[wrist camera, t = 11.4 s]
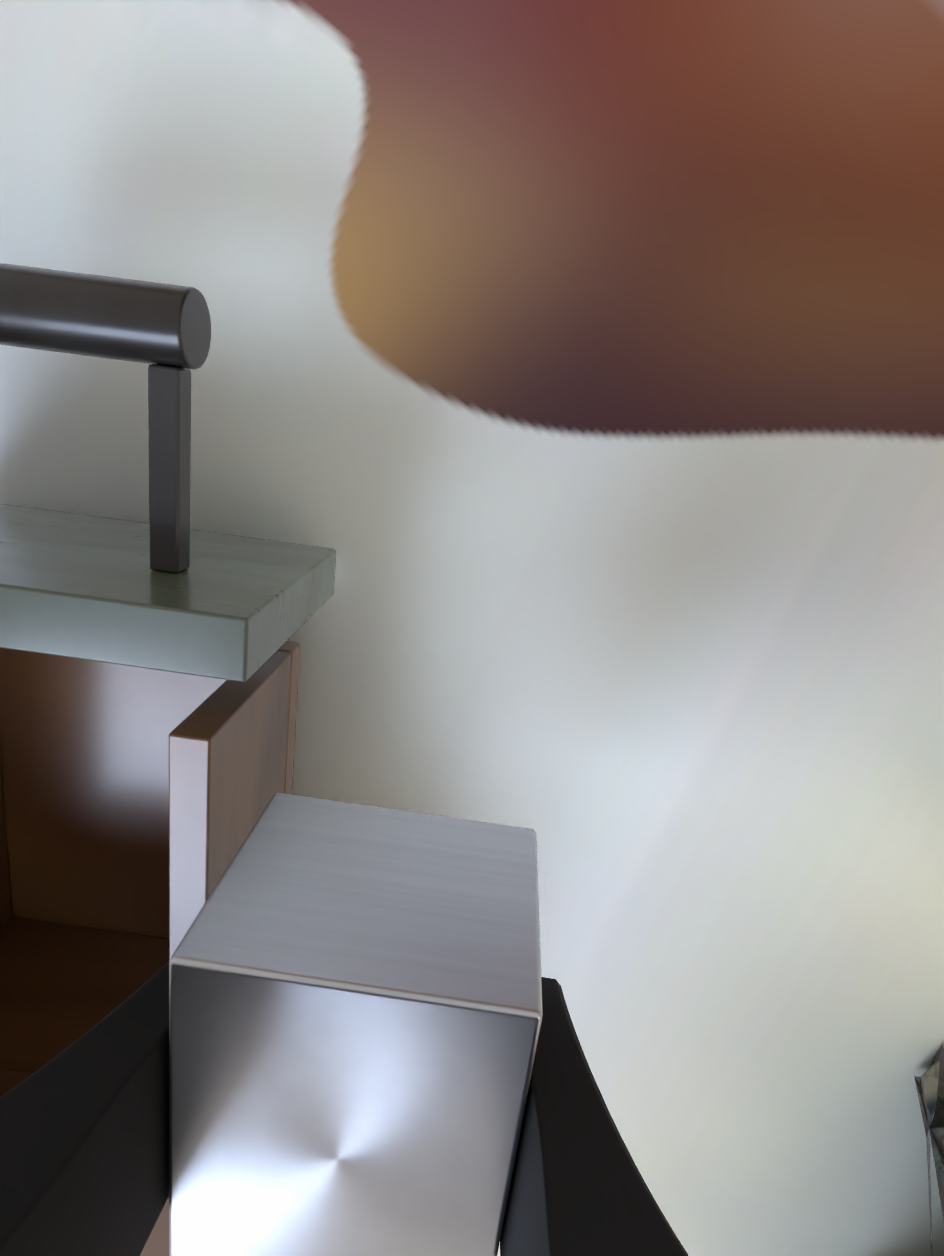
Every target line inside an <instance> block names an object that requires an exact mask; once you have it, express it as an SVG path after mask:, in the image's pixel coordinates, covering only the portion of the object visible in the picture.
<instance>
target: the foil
mask: <svg viewBox="0 0 944 1256" xmlns="http://www.w3.org/2000/svg"><path fill="white" fill-rule="evenodd" d="M914 1077H915V1082H916V1087H917V1092H918V1097H919V1102H920V1107H921V1112H922V1117H923V1122H924V1127H925V1132H926V1138H927V1160H928V1182H929V1203H930V1225H931V1182H930V1138H929V1129H930V1136H931V1142H932V1148H933V1155H934V1161H935V1167H936V1174H937V1180H938V1186H939V1193H940V1199H941V1205H942V1212H943V1218H944V1048H943V1044H942V1046H941V1048H940V1050H939V1052H938V1054H937V1056H936V1058H935V1060H934V1062H933V1064H932V1066H931V1067H930V1068H929V1069H928V1070H927V1071H926V1072H925V1073H924V1074H923V1075H922V1076H921V1077H916V1076H914ZM934 1112H935V1113H934ZM933 1114H934V1116H933ZM932 1116H933V1119H932ZM931 1120H932V1122H931ZM930 1123H931V1125H930ZM931 1247H932V1226H931Z"/></svg>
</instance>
